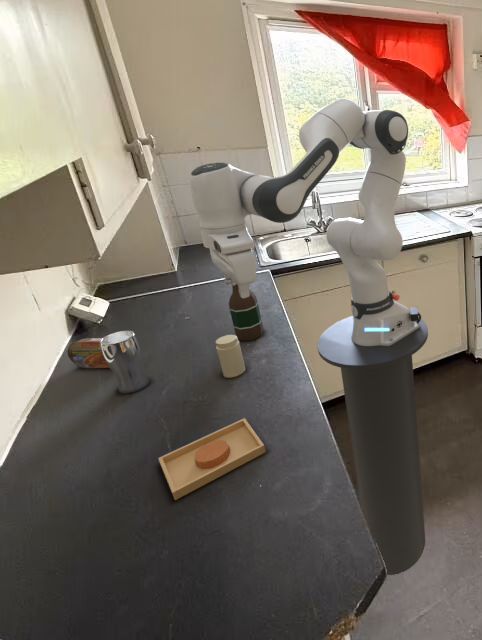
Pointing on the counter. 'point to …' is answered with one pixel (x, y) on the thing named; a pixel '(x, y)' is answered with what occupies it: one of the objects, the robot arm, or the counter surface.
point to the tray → (190, 477)
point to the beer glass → (125, 360)
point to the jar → (230, 356)
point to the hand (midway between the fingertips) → (238, 290)
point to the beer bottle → (245, 315)
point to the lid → (212, 454)
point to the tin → (87, 353)
